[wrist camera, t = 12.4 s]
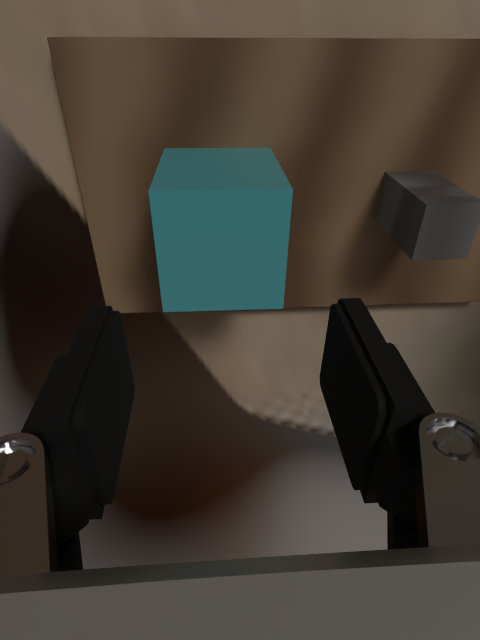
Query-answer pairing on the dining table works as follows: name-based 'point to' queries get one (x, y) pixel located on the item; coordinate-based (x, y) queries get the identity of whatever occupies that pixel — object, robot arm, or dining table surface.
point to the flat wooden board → (289, 154)
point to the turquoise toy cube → (220, 228)
